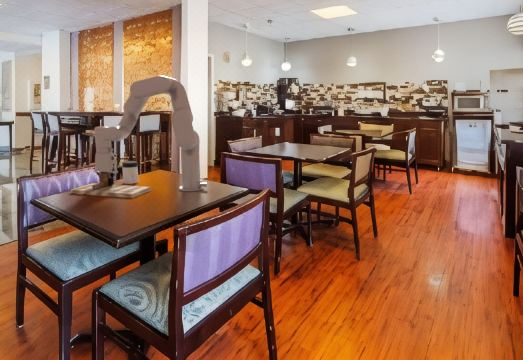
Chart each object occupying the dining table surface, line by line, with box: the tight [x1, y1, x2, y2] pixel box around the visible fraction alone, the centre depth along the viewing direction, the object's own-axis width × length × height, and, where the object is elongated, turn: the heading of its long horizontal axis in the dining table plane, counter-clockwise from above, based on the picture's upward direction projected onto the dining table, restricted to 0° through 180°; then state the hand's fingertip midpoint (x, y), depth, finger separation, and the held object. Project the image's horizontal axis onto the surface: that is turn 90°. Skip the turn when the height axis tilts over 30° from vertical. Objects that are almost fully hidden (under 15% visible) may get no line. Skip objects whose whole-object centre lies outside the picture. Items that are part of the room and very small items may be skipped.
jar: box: [121, 160, 139, 185], centre depth 217 cm, size 9×8×12 cm
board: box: [70, 182, 152, 199], centre depth 196 cm, size 36×16×2 cm, turn 74°
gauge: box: [92, 172, 115, 189], centre depth 196 cm, size 4×13×7 cm, turn 164°
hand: (107, 184), depth 200 cm, fingers closed on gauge, 4 cm apart
